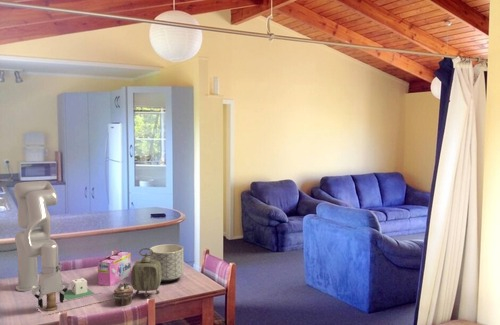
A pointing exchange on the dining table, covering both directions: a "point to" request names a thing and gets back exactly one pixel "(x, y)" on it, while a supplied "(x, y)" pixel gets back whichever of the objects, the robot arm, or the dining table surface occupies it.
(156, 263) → the tabletop clock
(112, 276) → the gum box
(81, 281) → the die
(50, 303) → the pawn
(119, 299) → the cupcake
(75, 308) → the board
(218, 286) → the dining table surface
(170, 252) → the planter
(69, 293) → the dice mat
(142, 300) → the dining table surface
